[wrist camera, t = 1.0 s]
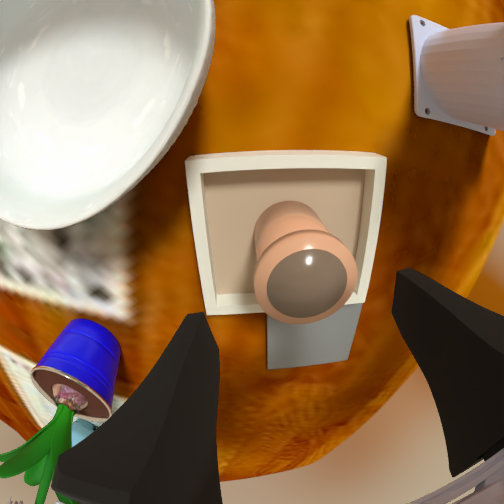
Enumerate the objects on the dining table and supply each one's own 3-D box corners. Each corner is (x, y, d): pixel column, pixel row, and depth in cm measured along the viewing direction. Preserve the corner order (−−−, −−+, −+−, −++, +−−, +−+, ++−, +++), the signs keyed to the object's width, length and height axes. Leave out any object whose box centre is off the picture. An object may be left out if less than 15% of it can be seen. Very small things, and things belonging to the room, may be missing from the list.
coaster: (361, 293, 22) (363, 297, 22) (345, 355, 26) (347, 359, 25) (266, 301, 22) (267, 306, 21) (267, 364, 26) (267, 369, 25)
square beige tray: (374, 152, 17) (387, 157, 15) (356, 288, 22) (364, 302, 20) (189, 155, 16) (184, 160, 15) (208, 300, 22) (206, 315, 20)
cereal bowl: (273, 101, 15) (297, 94, 9) (76, 231, 18) (26, 283, 12) (151, -65, 8) (122, -113, 1) (-10, 76, 11) (-69, 83, 5)
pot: (327, 195, 18) (365, 235, 12) (322, 264, 20) (349, 320, 15) (247, 197, 17) (252, 241, 12) (251, 268, 20) (256, 330, 15)
